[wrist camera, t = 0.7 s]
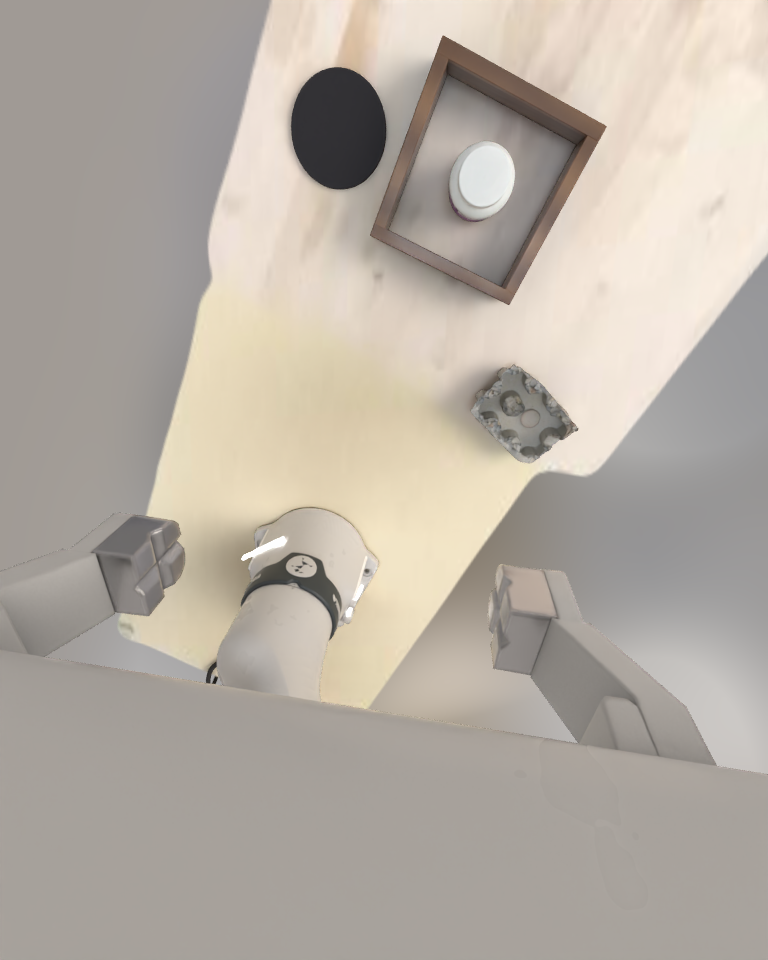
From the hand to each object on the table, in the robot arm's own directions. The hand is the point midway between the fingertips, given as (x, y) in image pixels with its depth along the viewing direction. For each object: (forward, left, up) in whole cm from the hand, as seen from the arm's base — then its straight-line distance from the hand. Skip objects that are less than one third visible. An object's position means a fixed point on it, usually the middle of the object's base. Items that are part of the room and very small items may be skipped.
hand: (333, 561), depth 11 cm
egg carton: (-7, -14, -42) cm, 45 cm away
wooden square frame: (+13, -2, -42) cm, 44 cm away
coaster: (+14, +12, -42) cm, 46 cm away
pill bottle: (+13, -2, -42) cm, 44 cm away
